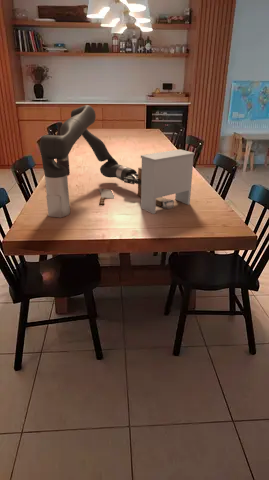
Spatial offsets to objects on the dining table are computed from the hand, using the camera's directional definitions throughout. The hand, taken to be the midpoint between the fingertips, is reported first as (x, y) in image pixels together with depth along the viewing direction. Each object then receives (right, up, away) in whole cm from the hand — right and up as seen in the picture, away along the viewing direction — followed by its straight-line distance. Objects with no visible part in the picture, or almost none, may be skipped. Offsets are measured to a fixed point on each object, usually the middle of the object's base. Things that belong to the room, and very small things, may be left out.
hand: (146, 182), depth 175 cm
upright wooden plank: (+3, -8, 0) cm, 9 cm away
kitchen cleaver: (-20, -7, +4) cm, 21 cm away
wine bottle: (-48, +11, +41) cm, 64 cm away
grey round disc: (+10, -13, -9) cm, 18 cm away
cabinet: (+9, -12, -8) cm, 17 cm away
